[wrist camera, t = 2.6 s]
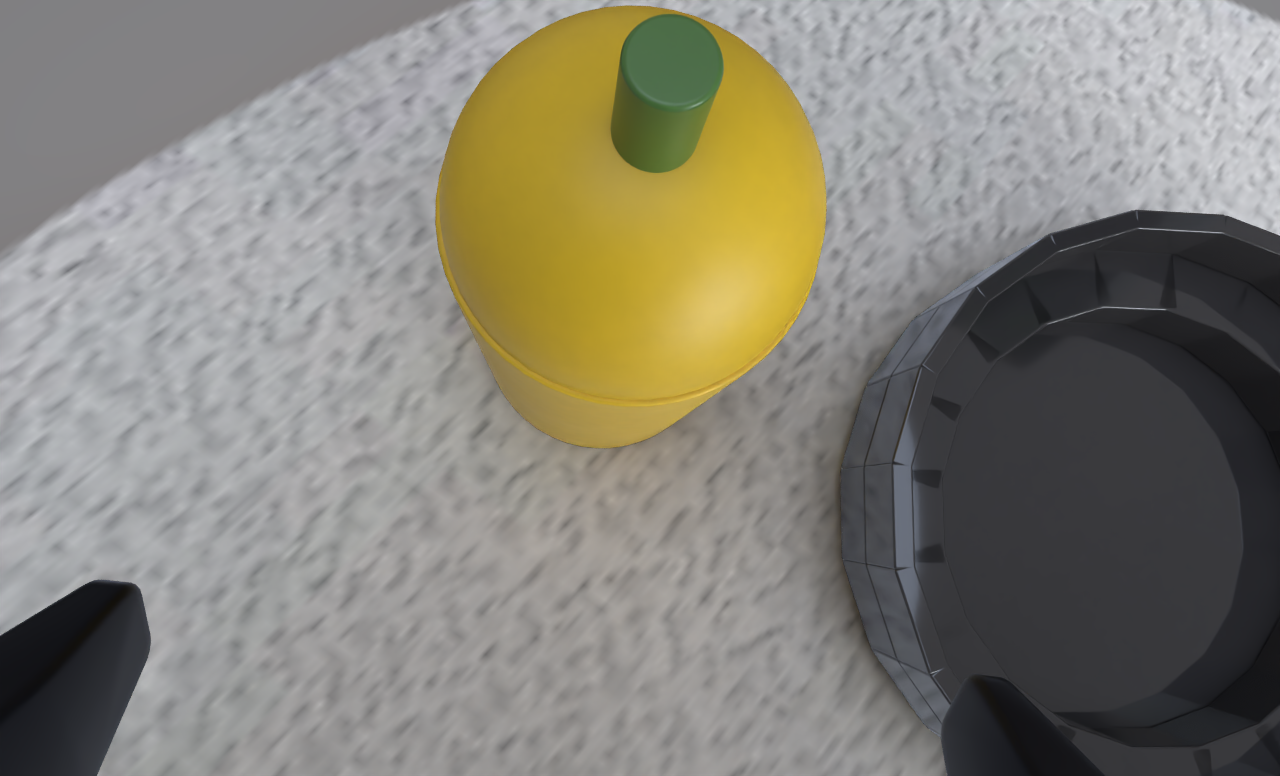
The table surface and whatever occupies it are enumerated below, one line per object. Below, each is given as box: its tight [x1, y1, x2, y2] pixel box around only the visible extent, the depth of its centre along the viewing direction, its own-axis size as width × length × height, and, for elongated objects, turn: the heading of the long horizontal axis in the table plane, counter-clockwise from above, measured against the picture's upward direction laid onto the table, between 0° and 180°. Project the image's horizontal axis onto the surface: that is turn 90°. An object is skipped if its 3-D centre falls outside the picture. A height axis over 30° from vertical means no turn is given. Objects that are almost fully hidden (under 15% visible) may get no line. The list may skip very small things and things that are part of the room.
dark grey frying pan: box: [841, 210, 1280, 776], centre depth 21 cm, size 15×15×4 cm
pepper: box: [435, 6, 827, 448], centre depth 16 cm, size 6×6×14 cm
